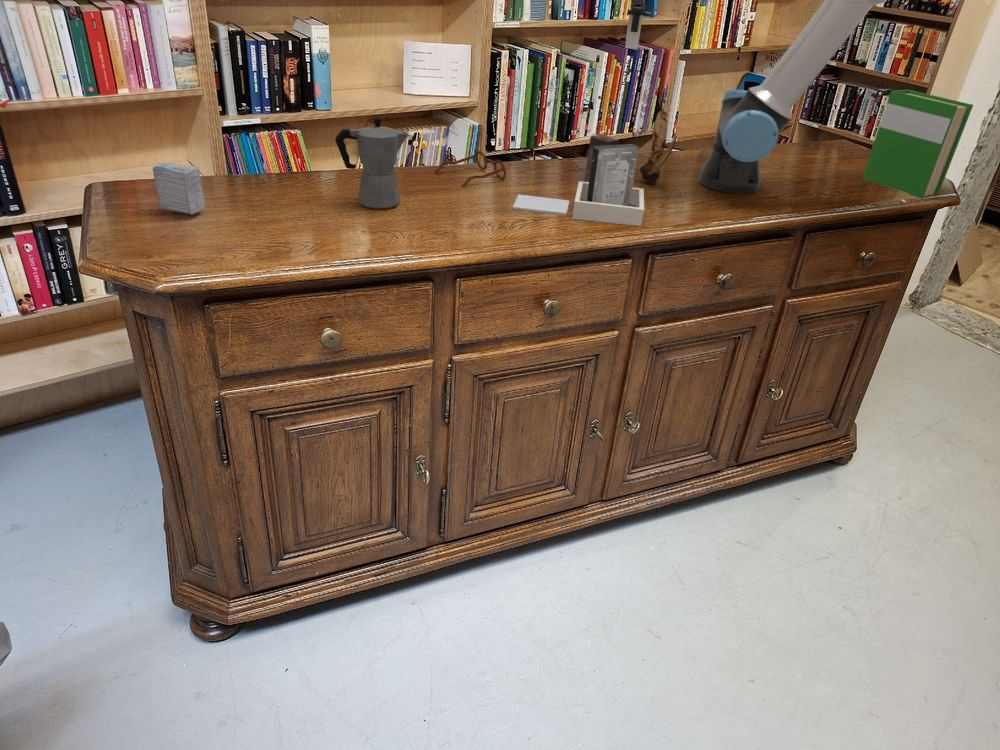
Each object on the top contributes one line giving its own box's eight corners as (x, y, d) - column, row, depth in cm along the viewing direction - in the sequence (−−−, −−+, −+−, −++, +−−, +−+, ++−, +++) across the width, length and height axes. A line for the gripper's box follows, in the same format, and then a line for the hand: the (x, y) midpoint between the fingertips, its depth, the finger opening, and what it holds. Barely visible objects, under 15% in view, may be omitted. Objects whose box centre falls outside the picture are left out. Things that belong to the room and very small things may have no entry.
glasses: (506, 182, 183) (508, 162, 180) (461, 189, 176) (462, 168, 173) (477, 167, 191) (478, 148, 189) (433, 173, 185) (434, 153, 182)
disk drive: (590, 216, 165) (599, 148, 157) (584, 211, 167) (592, 145, 159) (629, 212, 169) (640, 146, 161) (623, 208, 171) (633, 143, 163)
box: (612, 189, 183) (620, 139, 176) (600, 191, 180) (607, 141, 174) (595, 182, 186) (602, 133, 180) (582, 184, 184) (589, 135, 178)
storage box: (640, 205, 173) (643, 188, 171) (641, 227, 161) (644, 209, 159) (576, 197, 175) (578, 181, 173) (572, 219, 162) (574, 201, 160)
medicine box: (206, 209, 152) (200, 167, 148) (191, 215, 149) (185, 172, 144) (173, 202, 154) (167, 160, 150) (158, 208, 151) (151, 166, 146)
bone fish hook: (667, 192, 184) (682, 117, 174) (650, 192, 182) (663, 117, 173) (652, 180, 191) (664, 108, 182) (635, 180, 190) (647, 107, 180)
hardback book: (936, 200, 194) (973, 104, 181) (919, 203, 190) (955, 106, 178) (877, 180, 206) (908, 89, 194) (860, 182, 203) (891, 90, 190)
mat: (569, 202, 172) (569, 200, 171) (566, 215, 164) (566, 213, 164) (518, 196, 173) (518, 194, 172) (512, 209, 165) (512, 206, 165)
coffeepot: (404, 193, 169) (405, 112, 159) (412, 208, 161) (413, 123, 152) (336, 195, 165) (332, 111, 155) (340, 210, 157) (337, 123, 148)
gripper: (630, -68, 166) (616, 35, 177) (629, -67, 145) (613, 50, 156) (663, -65, 166) (647, 38, 177) (668, -64, 145) (649, 53, 156)
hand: (631, 44), depth 167 cm, fingers open, 13 cm apart
